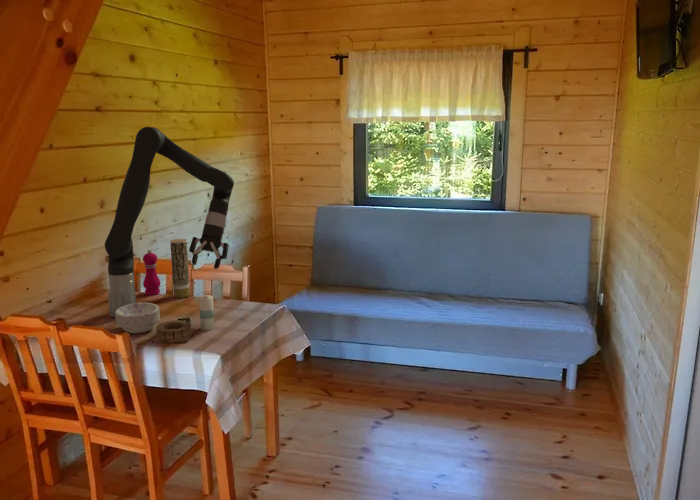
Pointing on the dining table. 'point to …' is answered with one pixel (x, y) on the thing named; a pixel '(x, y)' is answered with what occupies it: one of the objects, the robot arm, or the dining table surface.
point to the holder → (173, 332)
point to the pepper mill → (151, 274)
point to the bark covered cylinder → (180, 268)
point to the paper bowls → (137, 317)
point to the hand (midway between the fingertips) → (204, 266)
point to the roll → (206, 312)
